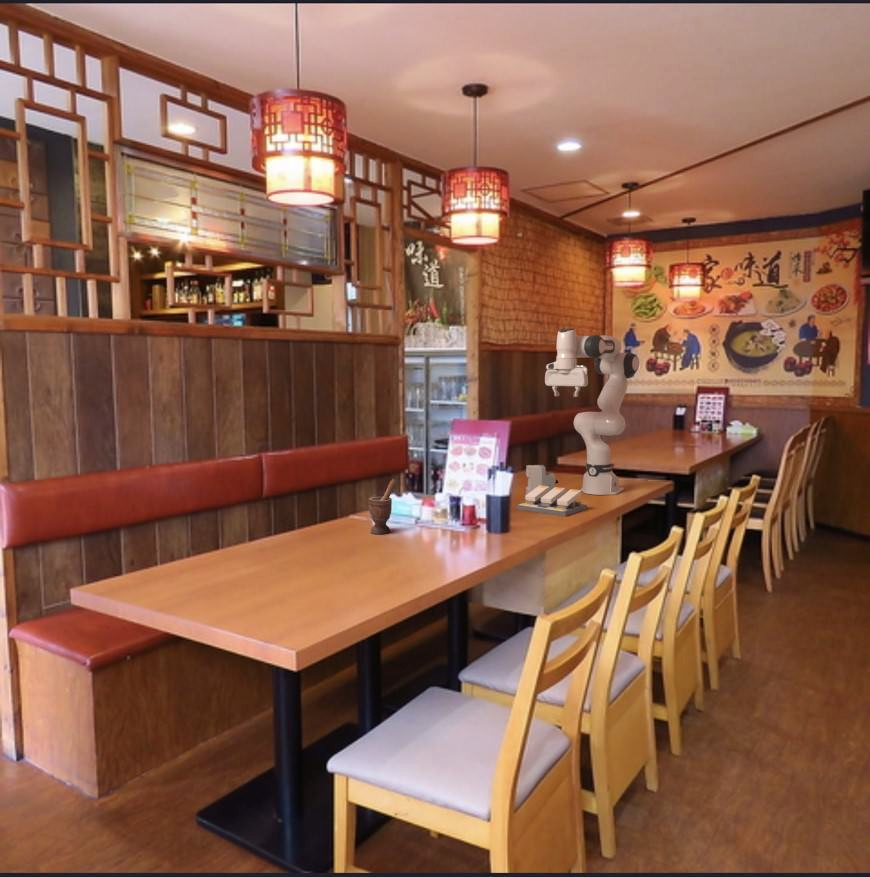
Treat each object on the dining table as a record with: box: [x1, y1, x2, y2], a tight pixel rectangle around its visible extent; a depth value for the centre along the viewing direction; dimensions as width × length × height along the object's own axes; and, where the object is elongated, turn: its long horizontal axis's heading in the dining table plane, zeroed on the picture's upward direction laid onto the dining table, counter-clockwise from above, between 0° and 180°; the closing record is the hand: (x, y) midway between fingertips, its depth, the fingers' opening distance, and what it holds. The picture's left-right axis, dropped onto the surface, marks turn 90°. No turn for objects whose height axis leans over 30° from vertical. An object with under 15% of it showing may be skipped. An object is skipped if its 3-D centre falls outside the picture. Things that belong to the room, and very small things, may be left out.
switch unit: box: [516, 498, 588, 517], centre depth 317 cm, size 18×24×5 cm
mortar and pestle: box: [368, 478, 399, 535], centre depth 280 cm, size 12×9×20 cm
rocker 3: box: [557, 488, 583, 506], centre depth 312 cm, size 12×5×2 cm, turn 139°
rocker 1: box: [524, 485, 550, 501], centre depth 323 cm, size 12×5×2 cm, turn 139°
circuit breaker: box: [525, 464, 559, 497], centre depth 342 cm, size 8×14×15 cm, turn 89°
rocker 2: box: [541, 486, 566, 504], centre depth 318 cm, size 12×5×2 cm, turn 139°
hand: (566, 396), depth 326 cm, fingers open, 8 cm apart
